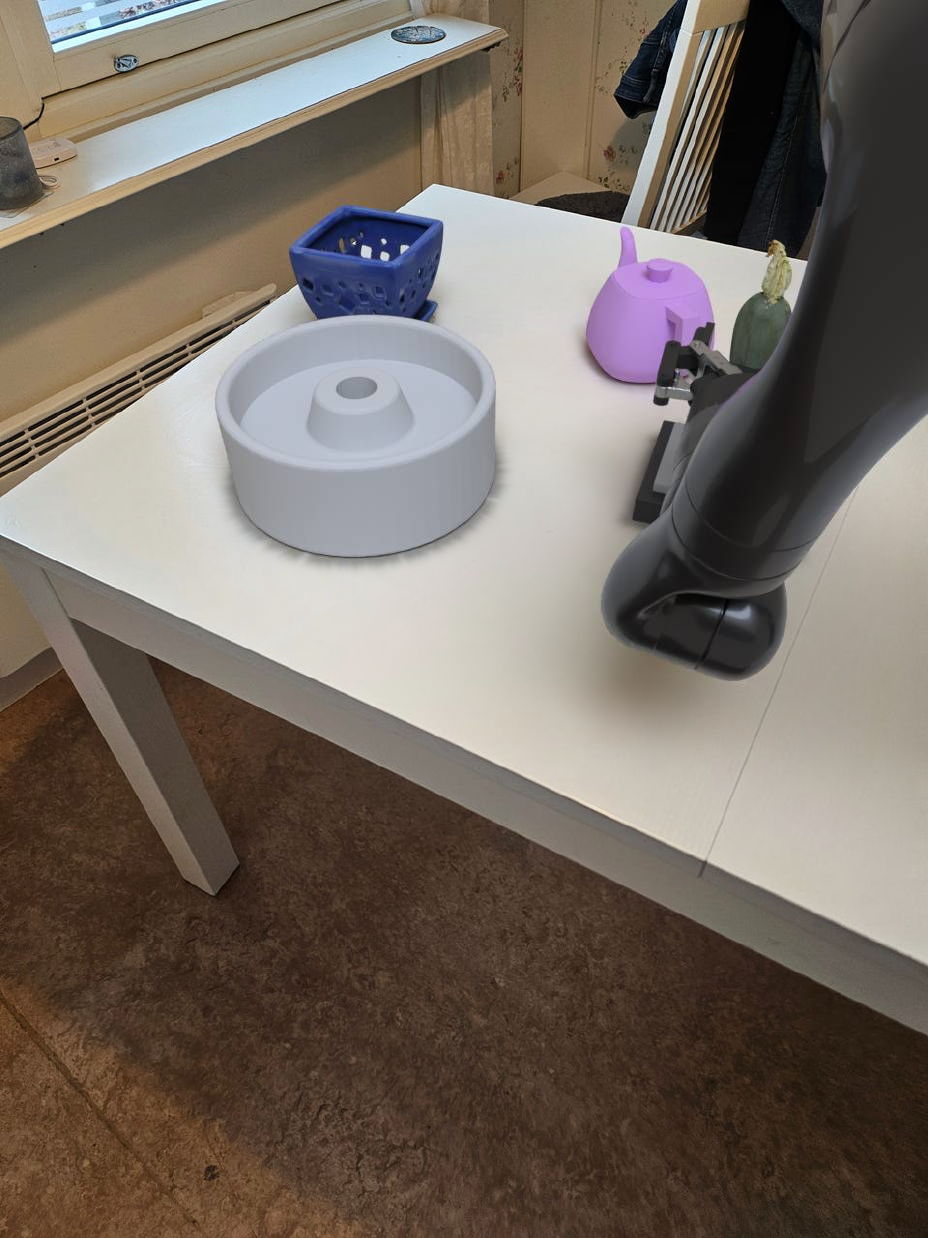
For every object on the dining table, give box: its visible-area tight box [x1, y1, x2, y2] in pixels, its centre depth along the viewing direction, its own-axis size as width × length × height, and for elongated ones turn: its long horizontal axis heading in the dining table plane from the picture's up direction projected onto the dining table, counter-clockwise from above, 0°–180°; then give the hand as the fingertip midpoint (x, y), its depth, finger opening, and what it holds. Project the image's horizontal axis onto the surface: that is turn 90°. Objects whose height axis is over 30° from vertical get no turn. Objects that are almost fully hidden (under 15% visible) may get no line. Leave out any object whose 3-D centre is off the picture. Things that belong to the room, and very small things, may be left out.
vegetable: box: [728, 239, 793, 369], centre depth 72 cm, size 4×4×20 cm
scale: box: [632, 419, 685, 525], centre depth 81 cm, size 14×13×4 cm
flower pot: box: [288, 204, 444, 322], centre depth 99 cm, size 13×13×12 cm
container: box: [214, 315, 497, 558], centre depth 81 cm, size 25×25×10 cm
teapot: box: [585, 225, 716, 384], centre depth 95 cm, size 13×20×11 cm
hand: (760, 340), depth 72 cm, fingers open, 8 cm apart
